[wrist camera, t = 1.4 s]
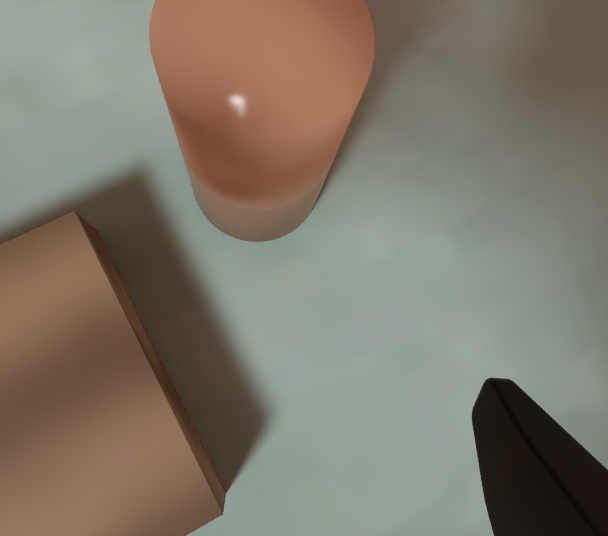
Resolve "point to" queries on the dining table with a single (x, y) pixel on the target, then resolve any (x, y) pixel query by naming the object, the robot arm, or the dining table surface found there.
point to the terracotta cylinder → (260, 101)
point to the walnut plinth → (88, 401)
